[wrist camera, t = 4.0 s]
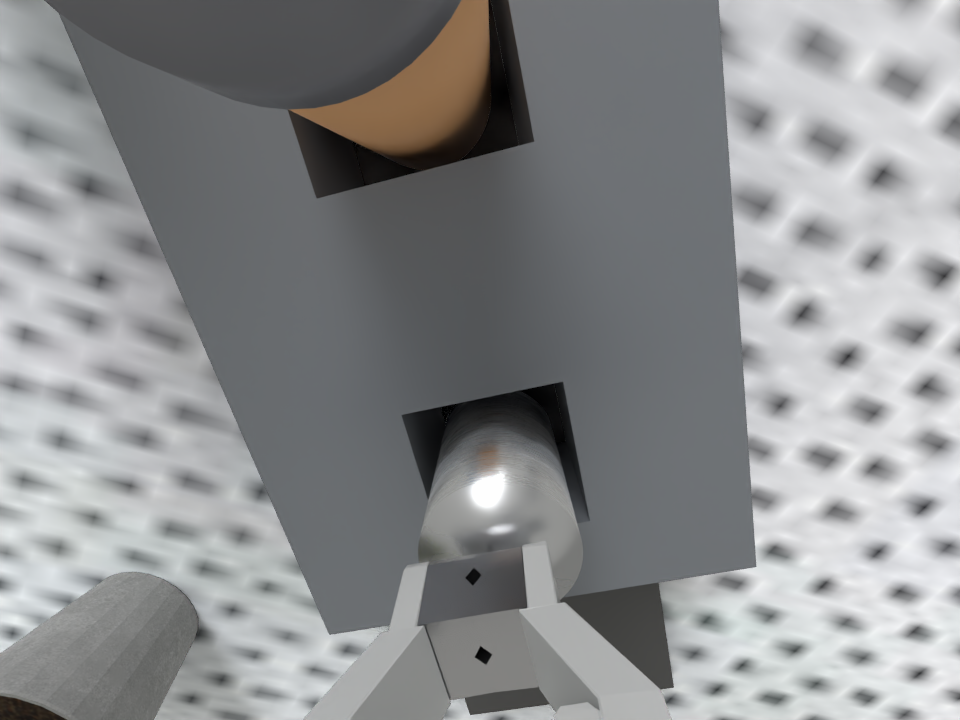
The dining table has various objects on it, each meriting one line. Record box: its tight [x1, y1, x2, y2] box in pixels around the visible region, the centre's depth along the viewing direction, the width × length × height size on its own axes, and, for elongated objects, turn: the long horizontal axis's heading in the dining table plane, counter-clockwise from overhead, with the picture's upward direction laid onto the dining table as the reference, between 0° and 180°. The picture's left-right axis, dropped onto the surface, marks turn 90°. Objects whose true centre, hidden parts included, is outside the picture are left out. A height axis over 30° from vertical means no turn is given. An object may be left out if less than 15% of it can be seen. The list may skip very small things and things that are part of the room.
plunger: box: [418, 391, 583, 600], centre depth 13 cm, size 4×4×6 cm
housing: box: [59, 0, 756, 635], centre depth 14 cm, size 22×14×5 cm, turn 13°
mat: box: [465, 583, 674, 715], centre depth 21 cm, size 10×10×1 cm
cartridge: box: [45, 0, 491, 170], centre depth 9 cm, size 5×5×12 cm
